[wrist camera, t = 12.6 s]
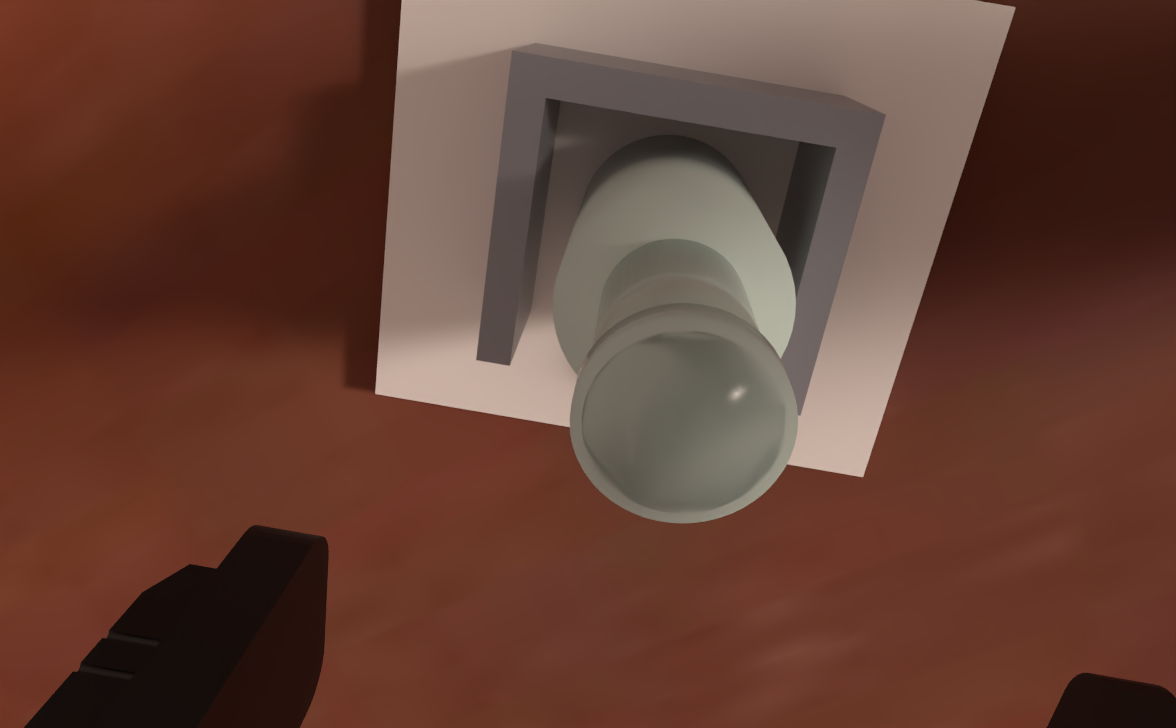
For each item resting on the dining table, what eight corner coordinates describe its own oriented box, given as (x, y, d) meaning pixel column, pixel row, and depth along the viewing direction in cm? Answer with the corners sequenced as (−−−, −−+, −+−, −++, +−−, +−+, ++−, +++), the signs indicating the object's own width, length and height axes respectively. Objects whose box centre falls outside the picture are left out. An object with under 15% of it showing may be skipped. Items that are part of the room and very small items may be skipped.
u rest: (1000, 7, 26) (1097, 7, 21) (855, 460, 33) (900, 558, 27) (418, -93, 26) (354, -121, 21) (384, 380, 32) (328, 460, 27)
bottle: (770, 150, 27) (896, 297, 13) (731, 316, 29) (805, 589, 16) (594, 120, 27) (540, 236, 13) (568, 288, 29) (498, 537, 16)
